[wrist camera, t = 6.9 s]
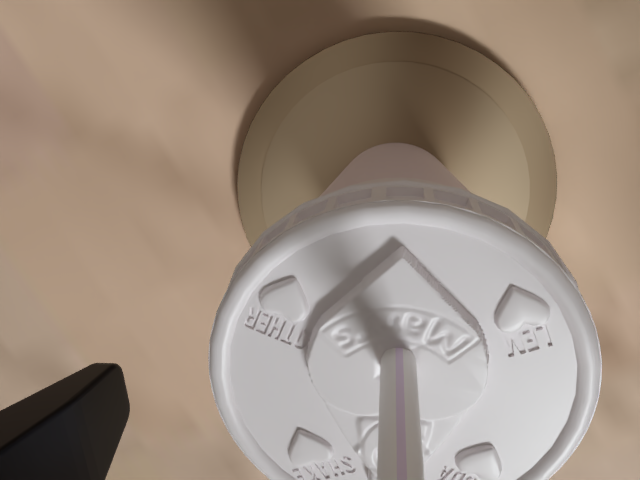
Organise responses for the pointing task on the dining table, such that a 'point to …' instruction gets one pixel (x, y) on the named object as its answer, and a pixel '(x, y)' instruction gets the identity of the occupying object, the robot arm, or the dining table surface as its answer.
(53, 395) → the robot arm
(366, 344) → the smoothie
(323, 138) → the coaster
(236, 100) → the dining table surface
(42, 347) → the dining table surface
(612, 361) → the dining table surface
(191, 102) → the dining table surface
